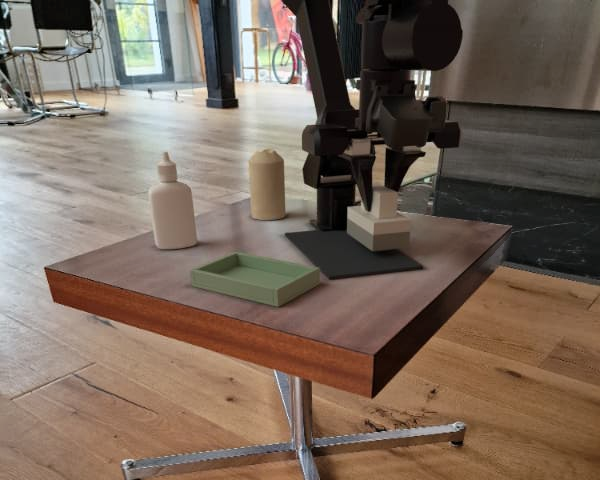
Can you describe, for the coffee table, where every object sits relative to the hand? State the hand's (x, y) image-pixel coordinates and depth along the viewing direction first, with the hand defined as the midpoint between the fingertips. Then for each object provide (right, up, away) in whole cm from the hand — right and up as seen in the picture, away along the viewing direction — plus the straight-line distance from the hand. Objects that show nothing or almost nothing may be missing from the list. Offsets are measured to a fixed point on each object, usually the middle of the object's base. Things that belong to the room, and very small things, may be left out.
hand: (377, 210), depth 73 cm
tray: (-15, -11, -8) cm, 21 cm away
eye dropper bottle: (-27, -3, +6) cm, 28 cm away
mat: (-4, -4, +3) cm, 6 cm away
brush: (0, -3, +2) cm, 4 cm away
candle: (-15, +5, +20) cm, 25 cm away
